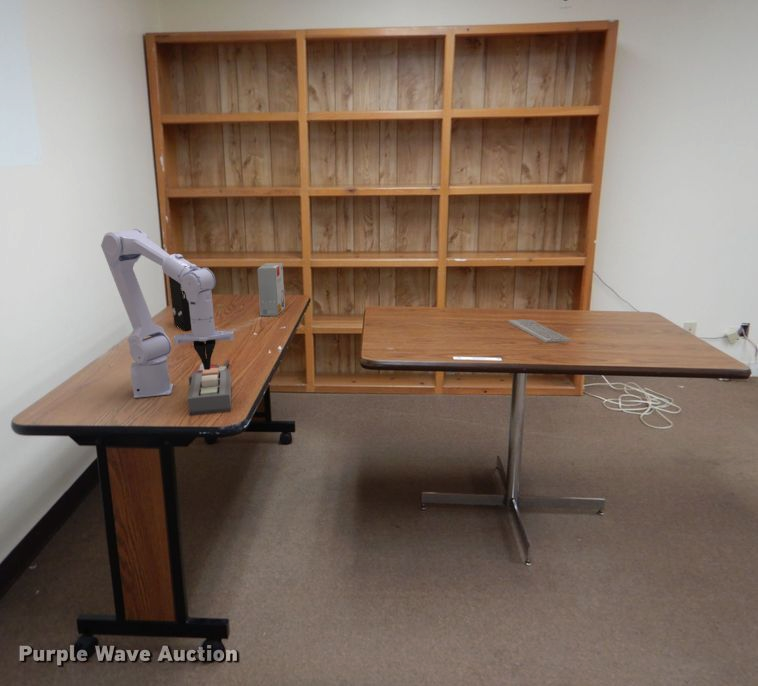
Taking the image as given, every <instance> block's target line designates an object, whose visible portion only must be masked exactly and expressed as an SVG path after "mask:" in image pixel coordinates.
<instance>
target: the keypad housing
mask: <svg viewBox="0 0 758 686" xmlns="http://www.w3.org/2000/svg"><path fill="white" fill-rule="evenodd" d="M192 373H193V372H192ZM202 373H203V372H201V373H193V375H192V380H191V385H190V384H189V389H188V396H187V405H188V413H189V416H196V415H205V414H206V415H207V414H216V412H218V413H225V412H226V411H227V412H231V411H232V381H231V380H232V379H231V369H227V370H223V371H219V378H218V383H219V386H211V387H218V394H211V395H201V388H207V387H202V383H201V379H202V376H203V375H202Z"/></svg>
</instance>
